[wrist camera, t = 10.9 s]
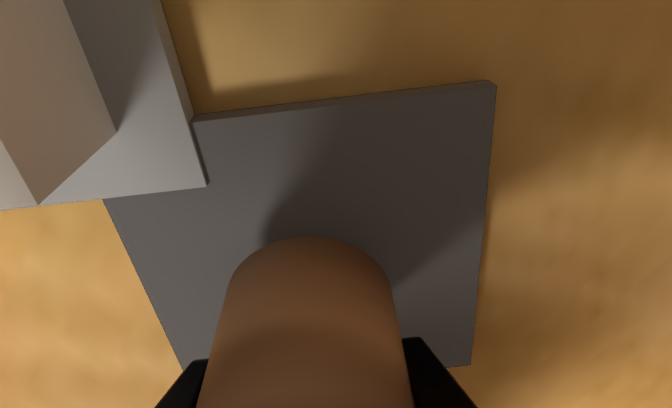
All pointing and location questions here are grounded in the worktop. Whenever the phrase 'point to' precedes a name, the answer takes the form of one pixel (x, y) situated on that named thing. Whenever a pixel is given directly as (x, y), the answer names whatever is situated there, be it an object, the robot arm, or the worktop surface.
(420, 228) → the pad
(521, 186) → the worktop surface
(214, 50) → the worktop surface
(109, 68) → the grey square tray
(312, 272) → the dowel
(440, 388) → the robot arm
